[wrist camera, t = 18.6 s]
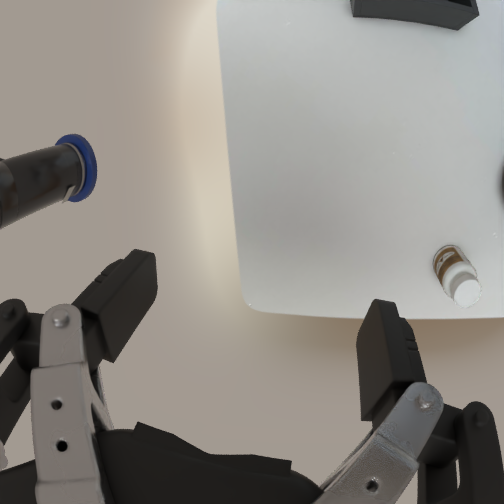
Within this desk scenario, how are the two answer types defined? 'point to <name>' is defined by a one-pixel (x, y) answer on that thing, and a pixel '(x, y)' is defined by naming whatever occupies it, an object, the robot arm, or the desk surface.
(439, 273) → the pill bottle
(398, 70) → the desk surface
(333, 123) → the desk surface
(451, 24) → the bin
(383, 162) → the desk surface
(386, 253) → the desk surface
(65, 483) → the robot arm
